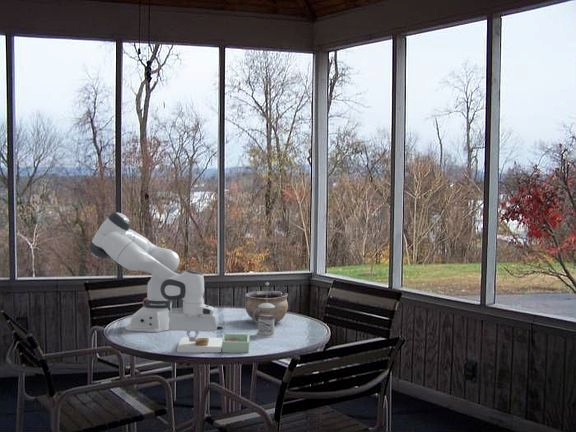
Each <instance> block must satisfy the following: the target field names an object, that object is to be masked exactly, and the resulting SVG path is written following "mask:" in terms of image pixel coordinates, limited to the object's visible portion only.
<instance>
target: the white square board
mask: <svg viewBox="0 0 576 432" xmlns="http://www.w3.org/2000/svg"><path fill="white" fill-rule="evenodd" d="M197 338H203V337H201V336H200V337H198V336H197V337H196V339H197ZM208 338H209V343H208V345H195V343H196V342H192V341H189V337H188V336H187V337H186V336H185V337H184V336H182V338H181V339H180V341H179V343H178V345H177V347H176V348H177V350H176V351H177V353H201V352H205V353H207V352H221V353H222V341H224V337H208Z"/></svg>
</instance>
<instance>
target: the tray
mask: <svg viewBox="0 0 576 432" xmlns="http://www.w3.org/2000/svg"><path fill="white" fill-rule="evenodd" d="M223 336H224V337H223V341H222V350H221V353H222V352H234V353H235V354H236V353H237V354H239V353H240V354H249V353H250V352H249V351H250V338H251V337H250V336H251V335H250V333H224V335H223ZM227 339H239V342H228V341H227ZM234 353H233V354H234Z"/></svg>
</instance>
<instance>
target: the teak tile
mask: <svg viewBox="0 0 576 432" xmlns="http://www.w3.org/2000/svg"><path fill="white" fill-rule="evenodd" d="M209 338H210V337H202V338H197V339H196V343H195V345H208V343H209Z"/></svg>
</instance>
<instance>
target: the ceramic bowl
mask: <svg viewBox="0 0 576 432" xmlns="http://www.w3.org/2000/svg"><path fill="white" fill-rule="evenodd" d="M288 295H289V293H284V294H283V293H282V291H278V290H258V291H255V290H254V291H249V292H247V293H245V298H246V301H245V310H246V311H245V312H246V313H247V315H248V316H249V317H250V318H251V319H252V321H253V320H254V321H253V322H255V323H258V318H259V317H260V316H259V314H263V313H264V314H266V309H262V308H259V307H258V306H259V305H260V304H263V303H270V304H273V305H274V306H275V308H273V309H267V314H268V313H269V314H273V315H274V316H273V318H274V324H278V323H279V322H280V321H282V320H283V319H284V317H285V316H286V315H287V312H288V309H289V304H288ZM258 308H259V309H260V311H259V312H258V310H259V309H258ZM256 309H257V310H256ZM255 310H256V311H255ZM253 312H255V314H254V313H253ZM254 317H255V319H254ZM255 320H256V321H255ZM264 320H270V319H264Z"/></svg>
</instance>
